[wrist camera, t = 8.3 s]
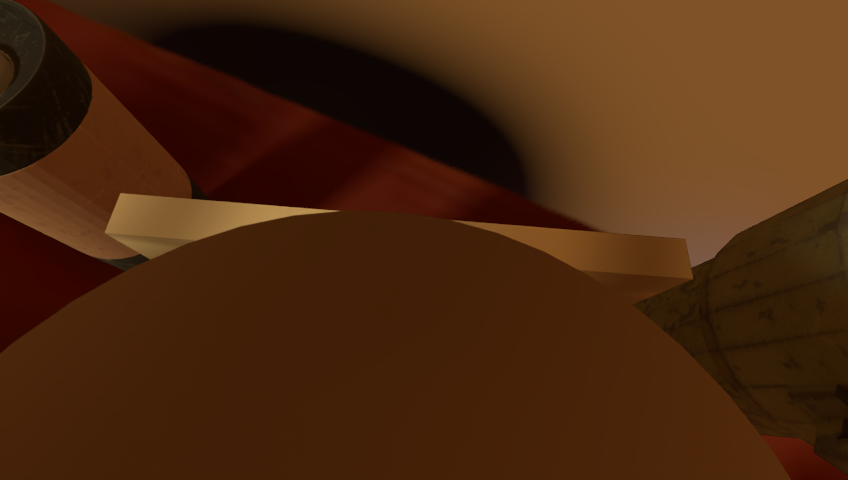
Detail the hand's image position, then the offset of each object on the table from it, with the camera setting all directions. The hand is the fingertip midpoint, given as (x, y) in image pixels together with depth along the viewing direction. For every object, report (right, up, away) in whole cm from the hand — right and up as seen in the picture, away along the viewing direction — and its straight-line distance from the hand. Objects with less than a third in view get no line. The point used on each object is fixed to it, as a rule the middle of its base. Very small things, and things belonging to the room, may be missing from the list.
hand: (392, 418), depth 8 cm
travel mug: (-19, +3, +25) cm, 32 cm away
